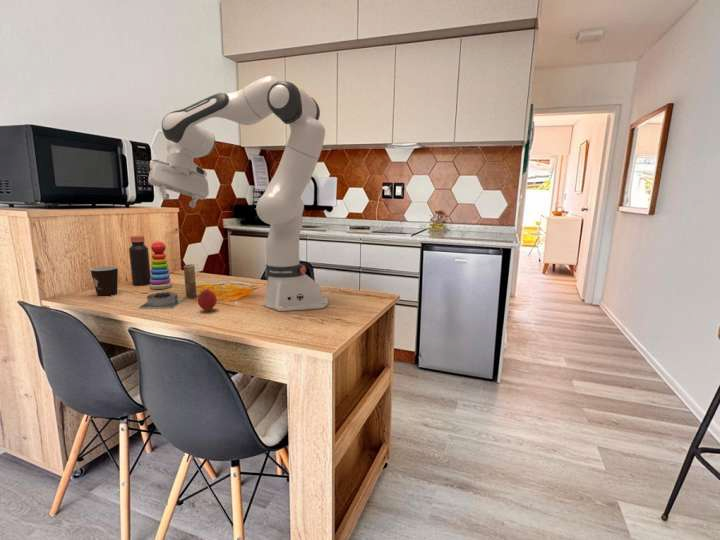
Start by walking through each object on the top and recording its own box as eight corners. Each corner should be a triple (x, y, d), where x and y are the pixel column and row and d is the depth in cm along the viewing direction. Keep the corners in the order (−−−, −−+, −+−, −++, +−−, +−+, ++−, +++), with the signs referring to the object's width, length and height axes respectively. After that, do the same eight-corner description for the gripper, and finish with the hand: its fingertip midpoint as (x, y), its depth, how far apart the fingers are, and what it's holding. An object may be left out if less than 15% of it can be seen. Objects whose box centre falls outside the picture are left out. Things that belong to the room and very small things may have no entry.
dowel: (198, 295, 148) (195, 264, 145) (194, 298, 144) (192, 266, 142) (188, 296, 148) (185, 264, 145) (184, 298, 144) (181, 266, 141)
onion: (215, 313, 128) (213, 289, 126) (196, 314, 127) (194, 290, 125) (218, 308, 133) (217, 285, 132) (200, 308, 132) (199, 285, 131)
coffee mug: (121, 295, 147) (118, 269, 145) (93, 298, 142) (90, 271, 140) (119, 288, 156) (116, 264, 154) (93, 291, 152) (89, 266, 150)
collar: (184, 299, 143) (184, 291, 143) (173, 308, 133) (172, 299, 132) (153, 299, 143) (152, 291, 142) (139, 308, 132) (138, 300, 131)
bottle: (153, 282, 168) (149, 235, 164) (147, 285, 162) (142, 237, 157) (136, 282, 167) (131, 235, 163) (129, 286, 161) (124, 237, 157)
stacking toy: (163, 290, 155) (158, 243, 151) (145, 289, 156) (140, 242, 152) (176, 285, 162) (172, 240, 158) (159, 284, 164) (154, 239, 160)
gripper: (154, 153, 132) (152, 190, 128) (210, 173, 147) (210, 207, 143) (145, 161, 136) (144, 197, 132) (202, 180, 151) (201, 213, 147)
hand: (179, 203), depth 138 cm, fingers open, 8 cm apart
